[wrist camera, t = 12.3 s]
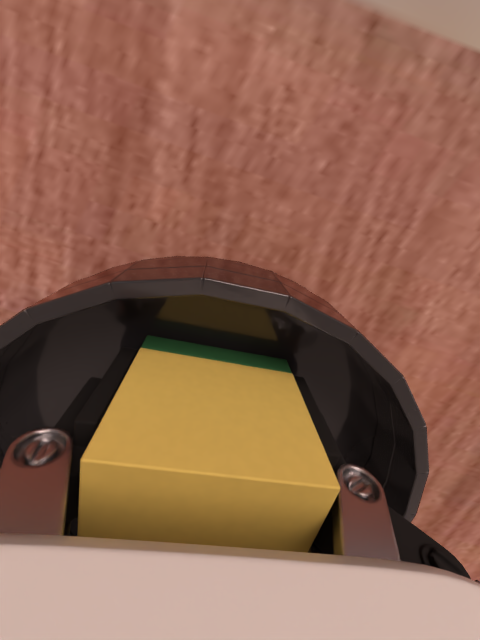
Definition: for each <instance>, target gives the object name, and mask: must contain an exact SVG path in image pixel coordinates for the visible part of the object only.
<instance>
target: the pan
mask: <svg viewBox="0 0 480 640" xmlns="http://www.w3.org/2000/svg"><path fill="white" fill-rule="evenodd" d="M147 335H150V336H155V337H161V338H167V339H172V340H178V341H184V342H189V343H195V344H201V345H206V346H212V347H218V348H223V349H229V350H235V351H240V352H246V353H252V354H257V355H263V356H268V357H274V358H280V359H285V360H287V362H288V365H289V367H290V370H291V372H292V374H293V376H299V377H304V379H305V381H306V383H307V385H308V387H309V389H310V391H311V394H312V396H313V398H314V400H315V402H316V404H317V406H318V408H319V410H320V412H321V413H322V415H323V417H324V419H325V421H326V423H327V425H328V427H329V429H330V431H331V433H332V435H333V437H334V439H335V442H336V444H337V446H338V448H339V450H340V452H341V454H342V456H343V458H344V460H345V462H346V464H354V465H358V466H360V467H362V468H364V469H366V470H367V471H368V472H370V473H371V474H372V475H373V476H374V477H375V478H376V479H377V480H378V481H379V483H380V484H381V486H382V488H383V490H384V493H385V497H386V501H387V505H388V506H389V507H390V508H392V509H393V510H394V511H396V512H397V513H398V514H400V515H401V516H402V517H404V518H405V519H406V520H408V521H409V522H410V523H411V521H412V520H413V518H414V517H415V515H416V513H417V510H418V507H419V504H420V500H421V497H422V494H423V491H424V487H425V484H426V481H427V477H428V474H429V462H428V444H427V427H426V423H425V421H424V419H423V417H422V414H421V412H420V410H419V408H418V406H417V404H416V401H415V399H414V397H413V395H412V393H411V391H410V388H409V386H408V384H407V382H406V380H405V378H404V377H403V375H402V374H401V373H400V372H399V371H398V370H397V369H396V368H395V367H394V366H393V365H392V364H391V363H390V362H389V361H388V360H387V359H386V358H385V357H384V356H383V355H382V354H381V353H380V352H379V351H378V350H377V349H376V348H375V347H374V346H373V345H372V344H371V343H370V342H369V341H368V340H367V339H366V338H365V337H364V336H363V335H362V334H361V333H360V332H359V331H358V330H357V329H356V328H355V327H354V326H353V325H352V324H351V323H350V322H349V321H347V320H346V319H345V318H344V317H343V316H342V315H341V314H340V313H339V312H338V311H337V310H336V309H334V308H333V307H332V306H331V305H330V304H329V303H328V302H327V301H325V300H324V299H322V298H320V297H318V296H317V295H315V294H313V293H312V292H310V291H309V290H307V289H305V288H304V287H302V286H301V285H299V284H298V283H296V282H294V281H291V280H289V279H287V278H285V277H282V276H280V275H278V274H276V273H274V272H271V271H269V270H266V269H262V268H259V267H255V266H252V265H249V264H245V263H242V262H237V261H231V260H224V259H218V258H211V257H185V256H174V257H165V258H156V259H146V260H141V261H136V262H133V263H129V264H125V265H121V266H117V267H113V268H110V269H108V270H105V271H103V272H100V273H98V274H95V275H93V276H90V277H87V278H83V279H80V280H77V281H75V282H73V283H71V284H69V285H68V286H66V287H64V288H62V289H60V290H58V291H57V292H55V293H53V294H51V295H49V296H47V297H46V298H44V299H42V300H40V301H38V302H36V303H35V304H33V305H31V306H29V307H27V308H25V309H24V310H22V311H21V312H19V313H18V314H16V315H15V316H13V317H12V318H11V319H9V320H8V321H6V322H5V323H3V324H2V325H1V326H0V461H1V460H4V457H5V454H6V451H7V450H8V448H9V446H10V444H11V443H12V442H13V441H15V440H16V439H17V438H18V437H19V436H21V435H23V434H24V433H26V432H28V431H31V430H34V429H37V428H42V427H54V426H55V425H56V424H57V422H58V421H59V420H60V418H61V417H62V415H63V414H64V413H65V411H66V410H67V409H68V407H69V406H70V404H71V403H72V402H73V400H74V399H75V398H76V396H77V395H78V393H79V392H80V391H81V389H82V388H83V387H84V385H85V384H86V382H87V381H88V380H89V379H90V378H91V377H95V378H101V379H102V378H103V376H104V375H105V373H106V372H107V370H108V368H109V367H110V365H111V364H112V362H113V361H114V359H115V358H116V356H117V355H118V353H119V352H120V350H121V349H122V347H128V348H134V349H138V351H139V349H140V348H141V346H142V344H143V342H144V340H145V338H146V336H147ZM77 531H78V517H77V518H75V519H73V520H72V521H71V527H70V536H77Z"/></svg>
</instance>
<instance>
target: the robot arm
mask: <svg viewBox="0 0 480 640" xmlns="http://www.w3.org/2000/svg"><path fill="white" fill-rule="evenodd" d="M137 353H138V349H134V348H128V347H122V349H121V350H120V352H119V353H118V355H117V356H116V358H115V359H114V361H113V362H112V364H111V365H110V367H109V368H108V370H107V372H106V373H105V375H104V376H103V378H102V379H101V378H95V377H91V378H90V379H89V380H88V381H87V382H86V384H85V385H84V387H83V388H82V389H81V391H80V392H79V393H78V395H77V396H76V398H75V399H74V400H73V402H72V403H71V404H70V406H69V407H68V409H67V410H66V411H65V413H64V414H63V415H62V417H61V418H60V420H59V421H58V422H57V424H56V425H55V426H54V427H42V428H37V429H34V430H31V431H28V432H26V433H24V434H23V435H21V436H19V437H18V438H17V439H16V440H15V441H13V442H12V443H11V444H10V446H9V448H8V450H7V451H6V454H5V457H4V460H1V461H0V640H480V582H479V581H478V580H476V581H473V580H471V579H470V576H469V575H468V573H467V572H466V570H465V568H464V567H463V566H462V564H461V563H460V562H459V561H458V560H457V559H456V558H455V557H454V556H453V555H452V554H451V553H450V552H449V551H448V550H446V549H445V548H444V547H442V546H441V545H440V544H438V543H437V542H436V541H434V540H433V539H432V538H430V537H429V536H428V535H426V534H425V533H424V532H422V531H421V530H420V529H418V528H417V527H416V526H414V525H413V524H412V523H410V522H409V521H408V520H406V519H405V518H404V517H402V516H401V515H400V514H398V513H397V512H396V511H394V510H393V509H392V508H390V507H389V506H388V505H387V501H386V497H385V493H384V490H383V488H382V486H381V484H380V483H379V481H378V480H377V479H376V478H375V477H374V476H373V475H372V474H371V473H370V472H368V471H367V470H366V469H364V468H362V467H360V466H358V465H354V464H346V462H345V460H344V458H343V456H342V454H341V452H340V450H339V448H338V446H337V444H336V442H335V439H334V437H333V435H332V433H331V431H330V429H329V427H328V425H327V423H326V421H325V419H324V417H323V415H322V413H321V412H320V410H319V408H318V406H317V404H316V402H315V400H314V398H313V396H312V394H311V391H310V389H309V387H308V385H307V383H306V381H305V379H304V377H299V376H294V378H295V381H296V383H297V386H298V388H299V390H300V393H301V395H302V397H303V400H304V402H305V405H306V407H307V409H308V412H309V414H310V416H311V419H312V421H313V424H314V426H315V428H316V431H317V433H318V435H319V438H320V440H321V443H322V445H323V447H324V450H325V452H326V455H327V457H328V459H329V462H330V464H331V466H332V469H333V471H334V474H335V476H336V478H337V481H338V483H339V485H340V491H339V493H338V495H337V497H336V499H335V501H334V503H333V505H332V507H331V508H330V510H329V512H328V514H327V516H326V518H325V520H324V522H323V524H322V526H321V528H320V530H319V532H318V533H317V535H316V537H315V539H314V541H313V543H312V545H311V547H310V549H309V551H308V553H306V552H293V551H280V550H267V549H253V548H240V547H226V546H212V545H198V544H184V543H170V542H155V541H140V540H125V539H110V538H95V537H80V536H70V527H71V521H72V520H73V519H75V518H77V517H78V506H79V480H80V459H81V458H82V456H83V454H84V452H85V450H86V448H87V446H88V444H89V443H90V441H91V439H92V437H93V435H94V433H95V431H96V429H97V428H98V426H99V424H100V422H101V420H102V418H103V416H104V415H105V413H106V411H107V409H108V407H109V405H110V403H111V401H112V400H113V398H114V396H115V394H116V392H117V390H118V388H119V386H120V385H121V383H122V381H123V379H124V377H125V375H126V373H127V372H128V370H129V368H130V366H131V364H132V362H133V360H134V358H135V357H136V355H137Z"/></svg>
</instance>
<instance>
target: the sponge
mask: <svg viewBox="0 0 480 640" xmlns="http://www.w3.org/2000/svg"><path fill="white" fill-rule="evenodd" d="M339 491H340V485H339V483H338V481H337V478H336V476H335V474H334V471H333V469H332V466H331V464H330V462H329V459H328V457H327V455H326V452H325V450H324V447H323V445H322V443H321V440H320V438H319V435H318V433H317V431H316V428H315V426H314V424H313V421H312V419H311V416H310V414H309V412H308V409H307V407H306V405H305V402H304V400H303V397H302V395H301V393H300V390H299V388H298V386H297V383H296V381H295V378H294V376H293V374H292V372H291V370H290V367H289V365H288V362H287V360H285V359H280V358H274V357H268V356H263V355H257V354H252V353H246V352H240V351H235V350H229V349H223V348H218V347H212V346H206V345H201V344H195V343H189V342H184V341H178V340H172V339H167V338H161V337H155V336H150V335H147V336H146V338H145V340H144V342H143V344H142V346H141V348H140V349H139V351H138V353H137V355H136V357H135V358H134V360H133V362H132V364H131V366H130V368H129V370H128V372H127V373H126V375H125V377H124V379H123V381H122V383H121V385H120V386H119V388H118V390H117V392H116V394H115V396H114V398H113V400H112V401H111V403H110V405H109V407H108V409H107V411H106V413H105V415H104V416H103V418H102V420H101V422H100V424H99V426H98V428H97V429H96V431H95V433H94V435H93V437H92V439H91V441H90V443H89V444H88V446H87V448H86V450H85V452H84V454H83V456H82V458H81V459H80V480H79V506H78V531H77V536H80V537H95V538H110V539H125V540H140V541H155V542H170V543H184V544H198V545H212V546H226V547H240V548H253V549H267V550H280V551H293V552H306V553H308V551H309V549H310V547H311V545H312V543H313V541H314V539H315V537H316V535H317V533H318V532H319V530H320V528H321V526H322V524H323V522H324V520H325V518H326V516H327V514H328V512H329V510H330V508H331V507H332V505H333V503H334V501H335V499H336V497H337V495H338V493H339Z"/></svg>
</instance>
